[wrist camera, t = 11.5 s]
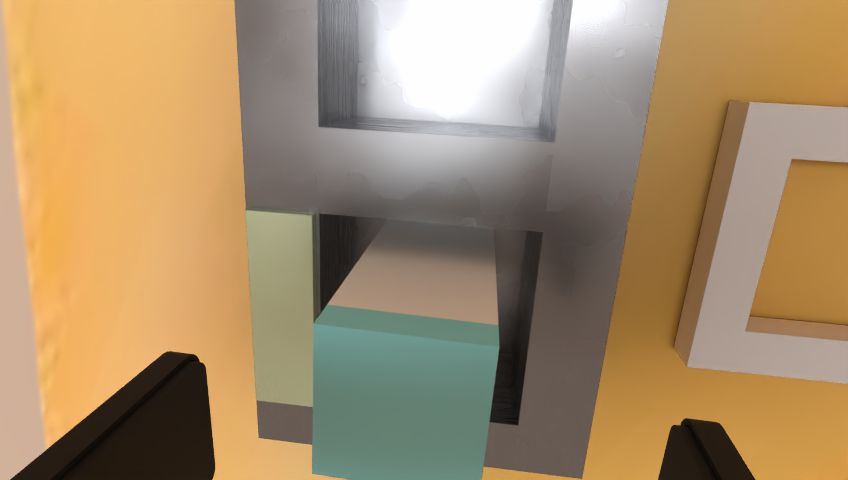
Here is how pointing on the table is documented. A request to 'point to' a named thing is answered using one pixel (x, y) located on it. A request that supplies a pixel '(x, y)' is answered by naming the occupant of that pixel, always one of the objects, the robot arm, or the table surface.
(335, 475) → the plug
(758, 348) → the white square frame
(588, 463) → the table surface
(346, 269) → the port block
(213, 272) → the table surface
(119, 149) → the table surface
